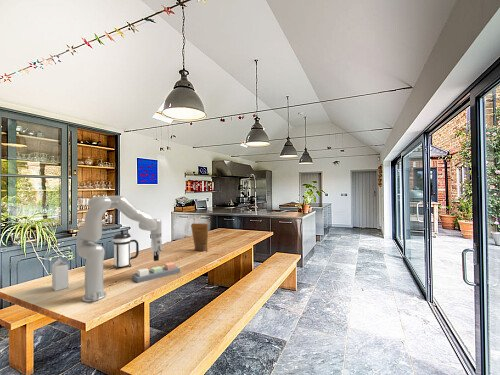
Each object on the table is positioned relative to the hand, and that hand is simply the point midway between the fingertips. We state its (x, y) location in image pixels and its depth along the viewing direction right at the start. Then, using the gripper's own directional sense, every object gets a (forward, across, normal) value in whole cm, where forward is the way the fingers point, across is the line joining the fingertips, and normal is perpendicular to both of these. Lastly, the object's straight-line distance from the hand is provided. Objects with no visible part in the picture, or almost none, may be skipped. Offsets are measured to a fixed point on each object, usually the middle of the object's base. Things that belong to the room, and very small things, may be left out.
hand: (156, 260), depth 189 cm
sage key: (+11, 0, 0) cm, 11 cm away
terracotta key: (+10, 0, -10) cm, 14 cm away
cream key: (+10, 0, +10) cm, 14 cm away
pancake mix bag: (+11, +41, -60) cm, 74 cm away
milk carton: (+12, +19, +56) cm, 60 cm away
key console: (+11, 0, 0) cm, 11 cm away
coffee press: (+11, +40, +12) cm, 43 cm away
